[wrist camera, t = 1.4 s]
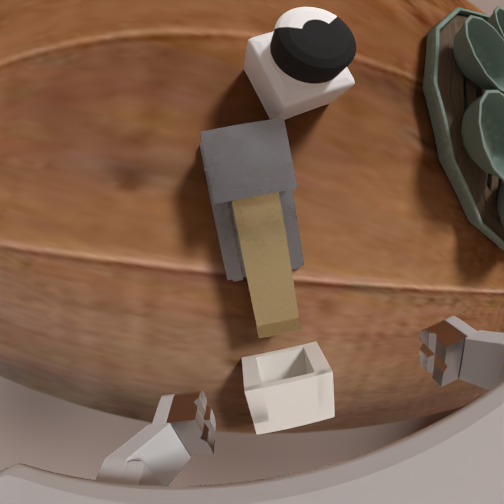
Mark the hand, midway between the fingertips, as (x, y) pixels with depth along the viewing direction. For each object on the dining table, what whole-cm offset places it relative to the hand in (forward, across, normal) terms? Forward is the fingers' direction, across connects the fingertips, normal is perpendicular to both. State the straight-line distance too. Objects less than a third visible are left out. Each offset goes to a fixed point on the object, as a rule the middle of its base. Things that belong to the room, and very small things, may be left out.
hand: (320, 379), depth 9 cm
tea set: (+24, -43, -9) cm, 50 cm away
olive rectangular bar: (+21, 0, -1) cm, 21 cm away
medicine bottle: (+22, -6, -16) cm, 28 cm away
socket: (+22, +2, +16) cm, 27 cm away
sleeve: (+22, 0, -5) cm, 22 cm away
